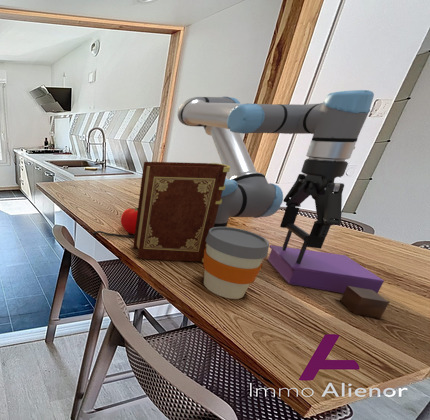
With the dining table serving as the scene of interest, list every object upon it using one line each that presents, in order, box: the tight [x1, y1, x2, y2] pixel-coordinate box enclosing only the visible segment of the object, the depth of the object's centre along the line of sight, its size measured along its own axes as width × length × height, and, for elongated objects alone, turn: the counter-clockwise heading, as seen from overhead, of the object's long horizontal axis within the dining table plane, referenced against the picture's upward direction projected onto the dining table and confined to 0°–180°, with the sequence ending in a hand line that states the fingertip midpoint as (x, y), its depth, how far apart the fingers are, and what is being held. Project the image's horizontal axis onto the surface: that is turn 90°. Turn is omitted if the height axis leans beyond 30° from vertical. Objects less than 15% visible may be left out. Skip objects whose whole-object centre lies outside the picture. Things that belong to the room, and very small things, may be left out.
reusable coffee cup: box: [202, 226, 270, 300], centre depth 62 cm, size 13×12×15 cm
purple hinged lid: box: [269, 223, 385, 284], centre depth 66 cm, size 18×13×9 cm
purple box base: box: [267, 249, 384, 294], centre depth 68 cm, size 17×13×5 cm
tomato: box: [120, 207, 138, 235], centre depth 96 cm, size 12×12×10 cm
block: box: [339, 286, 390, 319], centre depth 56 cm, size 4×4×4 cm
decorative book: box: [132, 161, 230, 263], centre depth 76 cm, size 22×8×30 cm, turn 84°
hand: (298, 236), depth 67 cm, fingers open, 13 cm apart
